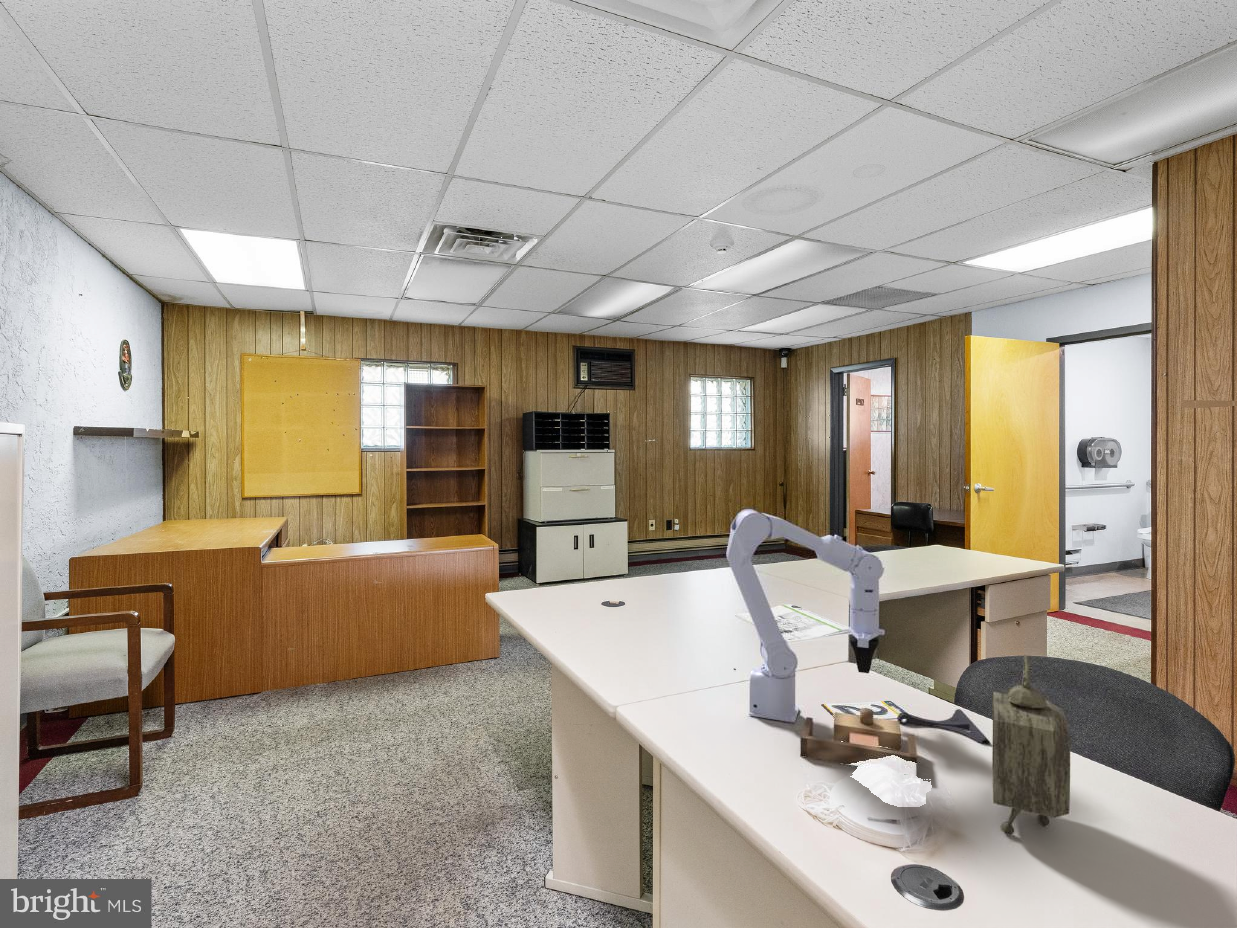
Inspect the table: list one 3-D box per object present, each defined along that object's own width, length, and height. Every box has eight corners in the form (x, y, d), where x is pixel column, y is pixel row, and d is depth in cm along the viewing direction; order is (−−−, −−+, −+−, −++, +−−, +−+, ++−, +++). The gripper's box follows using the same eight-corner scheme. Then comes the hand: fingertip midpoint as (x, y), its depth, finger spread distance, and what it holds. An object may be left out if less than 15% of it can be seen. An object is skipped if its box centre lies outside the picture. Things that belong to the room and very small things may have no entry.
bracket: (889, 711, 136) (889, 699, 136) (962, 716, 133) (962, 703, 133) (907, 742, 122) (907, 728, 122) (990, 748, 119) (990, 734, 119)
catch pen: (800, 756, 114) (800, 737, 114) (806, 734, 123) (806, 716, 123) (917, 777, 107) (917, 757, 107) (914, 753, 115) (914, 734, 115)
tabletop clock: (992, 791, 103) (993, 640, 102) (1058, 806, 98) (1060, 649, 98) (993, 837, 90) (995, 666, 90) (1070, 858, 86) (1072, 678, 85)
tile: (849, 756, 115) (849, 742, 115) (849, 744, 120) (849, 731, 120) (878, 761, 113) (878, 747, 113) (877, 748, 118) (877, 735, 118)
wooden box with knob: (833, 741, 121) (833, 711, 121) (834, 729, 126) (834, 700, 126) (901, 752, 116) (901, 721, 116) (899, 738, 122) (899, 709, 122)
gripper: (884, 618, 123) (884, 686, 124) (884, 602, 137) (884, 663, 137) (847, 614, 126) (846, 681, 126) (850, 599, 140) (850, 659, 140)
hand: (863, 671), depth 132 cm, fingers closed
